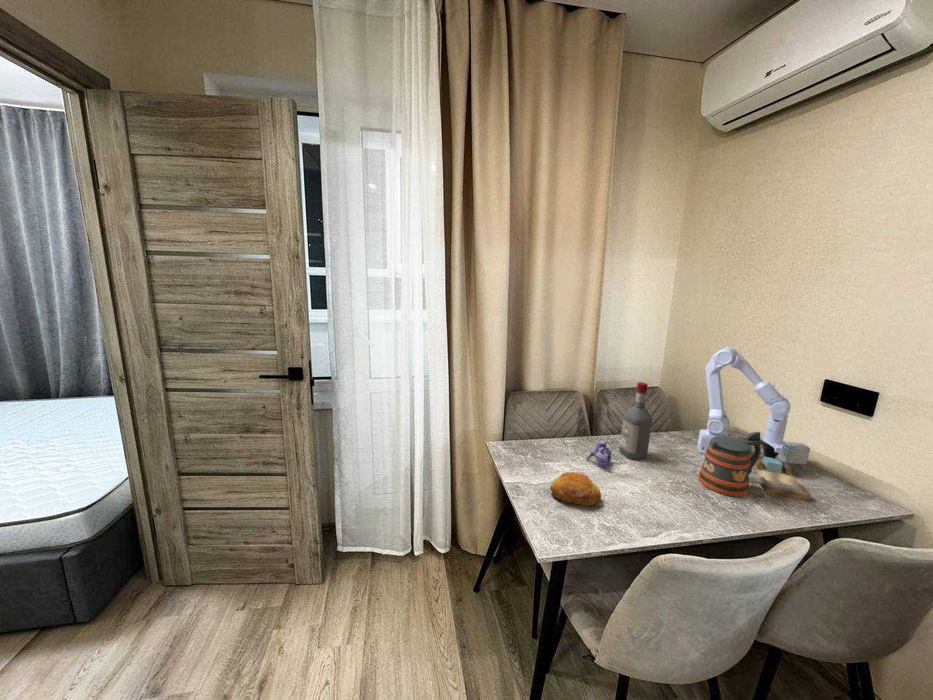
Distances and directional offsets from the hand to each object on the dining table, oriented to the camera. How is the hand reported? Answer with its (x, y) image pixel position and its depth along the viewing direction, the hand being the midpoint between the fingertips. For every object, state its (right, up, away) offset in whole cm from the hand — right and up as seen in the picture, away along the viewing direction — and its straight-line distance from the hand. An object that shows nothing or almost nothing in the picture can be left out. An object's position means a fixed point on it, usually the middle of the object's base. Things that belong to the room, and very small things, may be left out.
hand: (768, 462), depth 149 cm
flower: (-66, 0, -2) cm, 66 cm away
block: (-2, -1, -3) cm, 4 cm away
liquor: (-49, +1, +7) cm, 50 cm away
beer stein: (-24, -4, -13) cm, 28 cm away
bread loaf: (-81, -4, -22) cm, 84 cm away
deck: (-4, -4, -7) cm, 9 cm away
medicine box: (+12, -2, +4) cm, 13 cm away
